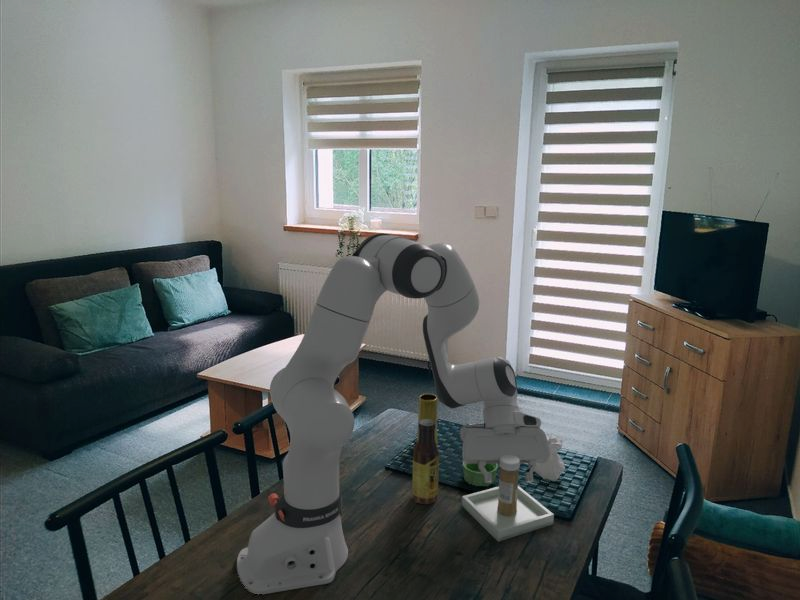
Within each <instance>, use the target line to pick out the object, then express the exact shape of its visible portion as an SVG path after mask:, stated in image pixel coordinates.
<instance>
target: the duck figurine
mask: <svg viewBox="0 0 800 600" xmlns="http://www.w3.org/2000/svg"><path fill="white" fill-rule="evenodd" d="M546 437H547V440H548V444H549V449H550V457H549V459H548V460H547V461H546V462H545V463H536V467H535V469H534V471H533V473H535V474H537V475H538V476H540V477H541V478H543V479H544V480H548V481H552V482H556V481H557V480H558V478H559V477H560V476H561V474H563V473H564V471H565V469H566V466H565V463H564V461H563V460H562V458H561V457H560V455H559V454H558V450H559V451H561V449H562V446H563V439H562V438H561V437H559V435H546Z"/></svg>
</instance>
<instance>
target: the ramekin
mask: <svg viewBox="0 0 800 600" xmlns="http://www.w3.org/2000/svg"><path fill="white" fill-rule="evenodd" d="M462 468H463V478H464V481H465V482H466V483H467V482H468V483H467V484H469V485H471V484H472V485H471V486H473V485H475V486H474V487H477V486H486V487H489V485H490V486H491V484H492V485H493V484H494V483H495V481H496V476H497V471H498V468H499V463H486V465H485V469H486V471H487V472H488V473H492V482H491V483H485V480H484V475H483V474H482V472H481V471H480V469H479V467H478V463H476V464H467V463H465V462H464V460H462Z"/></svg>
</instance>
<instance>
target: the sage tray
mask: <svg viewBox="0 0 800 600" xmlns="http://www.w3.org/2000/svg"><path fill="white" fill-rule="evenodd" d="M498 491H499V485H498V486H495V487H492V488H489V489H488V488H487V489H484V490H481V491H477V492H473V493H470V494H465V495H462V496H461V506H462V507H463V508H464V509H465V510H466V511H467V512H468V513H469V515H471V516H472V517H473V518H474V519H475V520H476V521H477V522H478V523H479V524H480V525H481V526H482V528H484V530H486V531H487V532H488V533H489V534H490V535H491V536H492V537H493V538H494V539H495V540H496V541H497V542H502V541H505V540H508V539H511V538H514V537H517V536H520V535H524V534H527V533H530V532H533V531H537V530H539V529H542V528H545V527H549V526H552V525H554V518H555V514H554V513H553V512H551V511H550V510H549V509H548V508H547V507H545V506H544V505H543V504H542V503H540V502H539V501H538V500H537V499H535V497H534V496H532V495H530V493H528V492H526V490H524V489H523V488H522V487H521V486H520V485H518V495H517V512H516V514H515V515H512V516H506V515H502V514H500V513H499V512H498V510H497V508H498Z"/></svg>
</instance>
